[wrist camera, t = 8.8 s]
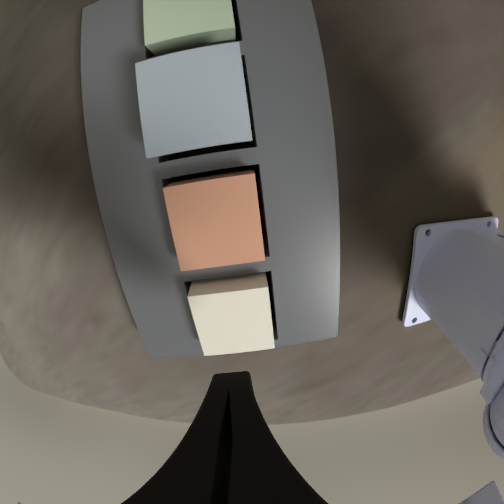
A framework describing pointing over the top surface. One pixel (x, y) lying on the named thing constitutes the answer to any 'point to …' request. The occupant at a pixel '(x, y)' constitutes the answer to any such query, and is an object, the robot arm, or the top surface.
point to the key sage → (186, 24)
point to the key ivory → (232, 313)
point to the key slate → (193, 100)
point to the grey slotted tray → (263, 154)
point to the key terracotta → (215, 220)
